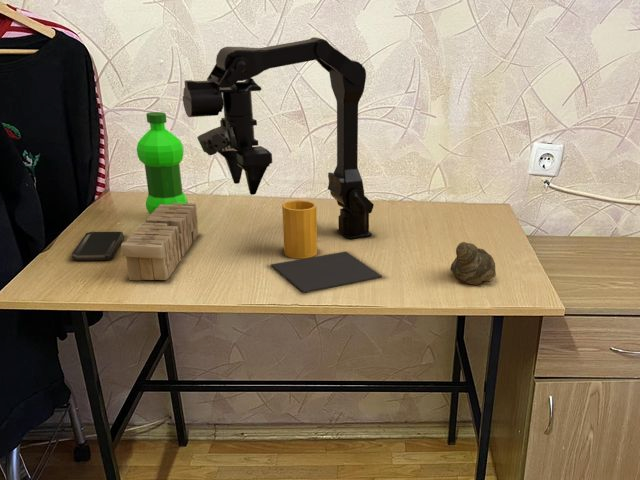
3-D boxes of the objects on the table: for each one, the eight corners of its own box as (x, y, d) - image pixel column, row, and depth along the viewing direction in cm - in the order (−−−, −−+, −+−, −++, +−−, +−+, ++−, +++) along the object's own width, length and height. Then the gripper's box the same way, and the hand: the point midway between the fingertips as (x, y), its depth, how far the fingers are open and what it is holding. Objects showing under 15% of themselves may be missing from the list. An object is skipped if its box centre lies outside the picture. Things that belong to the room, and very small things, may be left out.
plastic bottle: (144, 226, 171) (129, 118, 159) (149, 212, 180) (135, 109, 168) (189, 225, 173) (177, 118, 161) (191, 211, 182) (180, 109, 170)
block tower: (166, 237, 167) (124, 282, 141) (161, 202, 164) (118, 241, 137) (200, 238, 168) (165, 284, 142) (197, 203, 164) (160, 243, 138)
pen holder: (308, 245, 166) (307, 198, 161) (322, 255, 161) (321, 207, 156) (279, 250, 162) (276, 202, 157) (292, 260, 157) (290, 212, 152)
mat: (345, 253, 163) (345, 251, 163) (381, 277, 151) (381, 275, 151) (271, 266, 153) (271, 264, 153) (303, 293, 142) (303, 291, 142)
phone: (70, 255, 149) (87, 231, 162) (71, 260, 149) (88, 236, 162) (110, 255, 150) (124, 231, 163) (111, 260, 151) (125, 236, 164)
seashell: (433, 243, 154) (445, 259, 145) (479, 213, 153) (494, 228, 145) (458, 283, 160) (471, 301, 151) (502, 255, 159) (518, 271, 150)
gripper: (184, 108, 149) (193, 182, 157) (215, 126, 136) (223, 205, 144) (236, 105, 155) (242, 176, 163) (270, 121, 142) (275, 198, 149)
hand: (244, 188), depth 154 cm, fingers open, 9 cm apart
